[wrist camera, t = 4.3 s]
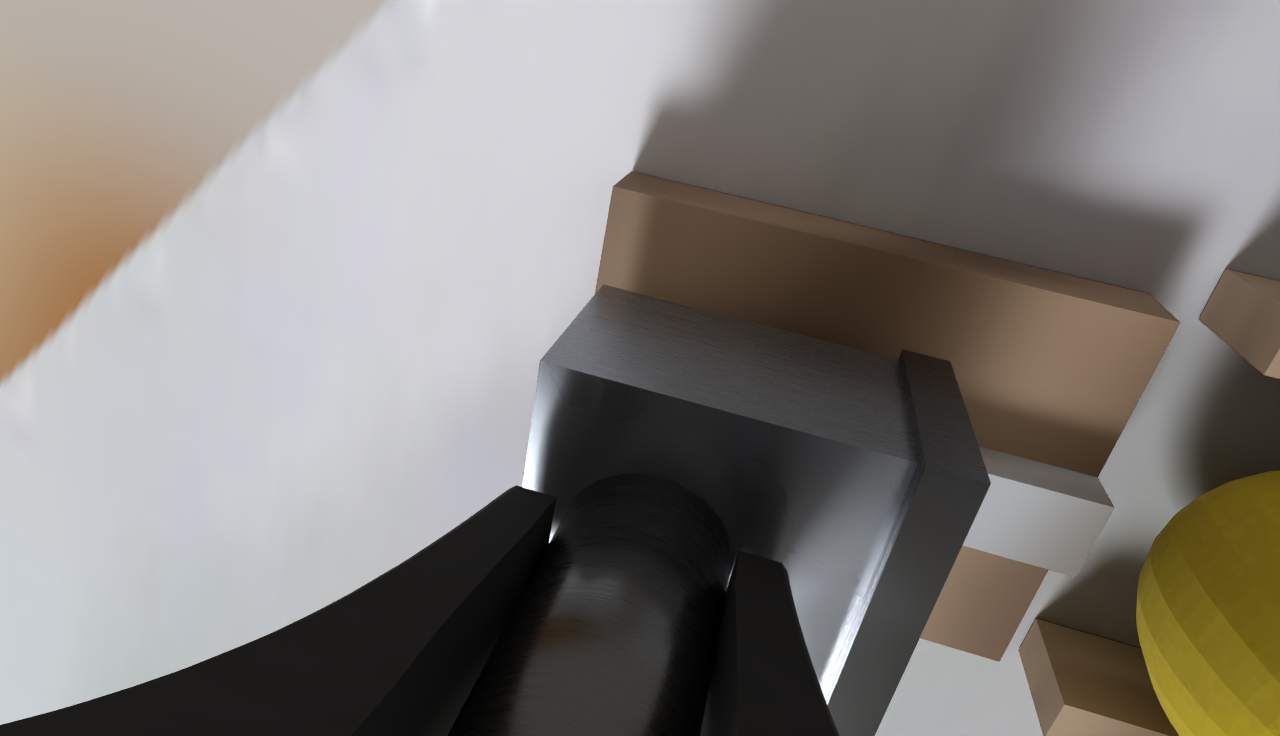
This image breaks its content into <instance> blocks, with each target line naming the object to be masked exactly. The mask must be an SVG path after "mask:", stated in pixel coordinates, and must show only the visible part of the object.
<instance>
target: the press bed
mask: <svg viewBox="0 0 1280 736" xmlns="http://www.w3.org/2000/svg"><path fill="white" fill-rule="evenodd" d="M603 284H604V285H608V286H612V287H616V288H620V289H624V290H627V291H631V292H635V293H639V294H643V295H647V296H651V297H655V298H659V299H663V300H667V301H671V302H674V303H678V304H682V305H686V306H690V307H694V308H698V309H702V310H706V311H710V312H714V313H718V314H721V315H725V316H729V317H733V318H737V319H741V320H745V321H749V322H753V323H757V324H761V325H765V326H769V327H772V328H776V329H780V330H784V331H788V332H792V333H796V334H800V335H804V336H808V337H812V338H816V339H819V340H823V341H827V342H831V343H835V344H839V345H843V346H847V347H851V348H855V349H859V350H863V351H866V352H870V353H874V354H878V355H882V356H886V357H890V358H894V359H899V357H900V354H901V351H902V349H904V350H908V351H912V352H916V353H920V354H924V355H928V356H932V357H936V358H939V359H943V360H947V361H950V362H951V365H952V368H953V371H954V374H955V377H956V380H957V383H958V386H959V389H960V392H961V395H962V398H963V401H964V404H965V407H966V410H967V413H968V416H969V419H970V422H971V425H972V428H973V431H974V434H975V437H976V440H977V443H978V446H979V449H980V452H981V455H982V458H983V461H984V464H985V467H986V470H987V473H988V476H989V479H990V482H991V485H990V487H989V489H988V491H987V493H986V496H985V498H984V500H983V502H982V504H981V506H980V509H979V511H978V513H977V515H976V517H975V519H974V522H973V524H972V526H971V528H970V530H969V532H968V535H967V537H966V539H965V541H964V543H963V545H962V547H961V550H960V552H959V554H958V556H957V558H956V560H955V563H954V565H953V567H952V569H951V571H950V573H949V576H948V578H947V580H946V582H945V584H944V586H943V589H942V591H941V593H940V595H939V597H938V599H937V602H936V604H935V606H934V608H933V610H932V612H931V615H930V617H929V619H928V621H927V623H926V625H925V627H924V630H923V632H922V634H921V636H920V638H921V639H925V640H928V641H932V642H935V643H938V644H942V645H945V646H948V647H952V648H955V649H959V650H962V651H965V652H969V653H972V654H976V655H979V656H982V657H986V658H989V659H993V660H996V661H1000V660H1001V658H1002V656H1003V654H1004V652H1005V650H1006V648H1007V646H1008V645H1009V643H1010V641H1011V639H1012V637H1013V635H1014V633H1015V631H1016V630H1017V628H1018V626H1019V624H1020V622H1021V620H1022V618H1023V616H1024V615H1025V613H1026V611H1027V609H1028V607H1029V605H1030V603H1031V601H1032V600H1033V598H1034V596H1035V594H1036V592H1037V590H1038V588H1039V587H1040V585H1041V583H1042V581H1043V579H1044V577H1045V575H1046V573H1047V572H1048V570H1052V571H1055V572H1059V573H1063V574H1066V575H1070V576H1073V577H1076V576H1077V574H1078V572H1079V571H1080V569H1081V567H1082V565H1083V563H1084V562H1085V560H1086V558H1087V556H1088V555H1089V553H1090V551H1091V549H1092V547H1093V546H1094V544H1095V542H1096V540H1097V538H1098V537H1099V535H1100V533H1101V531H1102V529H1103V528H1104V526H1105V524H1106V522H1107V520H1108V519H1109V517H1110V515H1111V513H1112V511H1113V510H1114V506H1113V504H1112V502H1111V500H1110V499H1109V497H1108V495H1107V493H1106V492H1105V490H1104V488H1103V486H1102V484H1101V483H1100V481H1099V479H1098V476H1099V474H1100V472H1101V470H1102V468H1103V467H1104V465H1105V463H1106V461H1107V459H1108V457H1109V455H1110V453H1111V452H1112V450H1113V448H1114V446H1115V444H1116V442H1117V440H1118V438H1119V437H1120V435H1121V433H1122V431H1123V429H1124V427H1125V425H1126V423H1127V422H1128V420H1129V418H1130V416H1131V414H1132V412H1133V410H1134V408H1135V407H1136V405H1137V403H1138V401H1139V399H1140V397H1141V395H1142V393H1143V392H1144V390H1145V388H1146V386H1147V384H1148V382H1149V380H1150V378H1151V377H1152V375H1153V373H1154V371H1155V369H1156V367H1157V365H1158V363H1159V362H1160V360H1161V358H1162V356H1163V354H1164V352H1165V350H1166V348H1167V347H1168V345H1169V343H1170V341H1171V339H1172V337H1173V335H1174V333H1175V332H1176V330H1177V328H1178V326H1179V324H1180V322H1179V321H1178V320H1177V319H1176V318H1175V317H1174V316H1173V315H1172V314H1171V313H1170V312H1168V311H1167V310H1166V309H1165V308H1164V307H1163V306H1162V305H1161V304H1160V303H1158V302H1157V301H1156V300H1155V299H1154V298H1153V297H1152V296H1151V295H1150V294H1148V293H1143V292H1139V291H1135V290H1131V289H1127V288H1122V287H1118V286H1114V285H1110V284H1105V283H1101V282H1097V281H1093V280H1088V279H1084V278H1080V277H1076V276H1072V275H1067V274H1063V273H1059V272H1055V271H1050V270H1046V269H1042V268H1038V267H1034V266H1029V265H1025V264H1021V263H1017V262H1012V261H1008V260H1004V259H1000V258H996V257H991V256H987V255H983V254H979V253H974V252H970V251H966V250H962V249H958V248H953V247H949V246H945V245H941V244H936V243H932V242H928V241H924V240H919V239H915V238H911V237H907V236H903V235H898V234H894V233H890V232H886V231H881V230H877V229H873V228H869V227H865V226H860V225H856V224H852V223H848V222H843V221H839V220H835V219H831V218H827V217H822V216H818V215H814V214H810V213H805V212H801V211H797V210H793V209H789V208H784V207H780V206H776V205H772V204H767V203H763V202H759V201H755V200H750V199H746V198H742V197H738V196H734V195H729V194H725V193H721V192H717V191H712V190H708V189H704V188H700V187H696V186H691V185H687V184H683V183H679V182H674V181H670V180H666V179H662V178H658V177H653V176H649V175H645V174H641V173H636V172H632V171H631V172H630V173H629V174H628V175H626V176H625V177H624V178H623V179H622V180H620V181H619V182H618V183H617V184H615V185H614V186H613V190H612V196H611V202H610V208H609V214H608V220H607V226H606V231H605V237H604V243H603V249H602V255H601V261H600V267H599V273H598V279H597V285H596V291H595V294H596V293H597V291H598V290H599V289H600V288H601V287H602V285H603Z"/></svg>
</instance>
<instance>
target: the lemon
mask: <svg viewBox="0 0 1280 736" xmlns="http://www.w3.org/2000/svg"><path fill="white" fill-rule="evenodd" d="M1136 622H1137V631H1138V636H1139V641H1140V645H1141V648H1142V652H1143V655H1144V659H1145V662H1146V666H1147V669H1148V672H1149V676H1150V679H1151V682H1152V685H1153V688H1154V690H1155V693H1156V695H1157V697H1158V700H1159V702H1160V704H1161V706H1162V708H1163V710H1164V712H1165V713H1166V715H1167V717H1168V719H1169V721H1170V722H1171V724H1172V725H1173V727H1174V728H1175V730H1176V731H1177V733H1178V734H1179V736H1280V470H1278V471H1268V472H1264V473H1259V474H1256V475H1252V476H1248V477H1244V478H1240V479H1237V480H1233V481H1229V482H1227V483H1225V484H1223V485H1221V486H1219V487H1217V488H1215V489H1212V490H1210V491H1208V492H1206V493H1204V494H1202V495H1200V496H1199V497H1198V498H1196V499H1195V500H1194V501H1192V502H1191V503H1190V504H1188V505H1187V506H1186V507H1184V508H1183V509H1182V510H1180V511H1179V512H1178V513H1177V514H1176V515H1174V516H1173V518H1172V519H1171V520H1170V521H1169V522H1168V524H1167V525H1166V526H1165V527H1164V529H1163V530H1162V531H1161V532H1160V533H1159V535H1158V536H1157V537H1156V538H1155V540H1154V542H1153V544H1152V546H1151V549H1150V551H1149V553H1148V556H1147V558H1146V560H1145V562H1144V565H1143V567H1142V569H1141V572H1140V575H1139V582H1138V592H1137V606H1136Z"/></svg>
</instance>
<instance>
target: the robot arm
mask: <svg viewBox="0 0 1280 736" xmlns="http://www.w3.org/2000/svg"><path fill="white" fill-rule="evenodd" d="M556 498H557V497H554V496H551V495H547V494H544V493H540V492H537V491H533V490H530V489H526V488H523V487H520V486H514V487H512V488H510V489H509V490H507V491H506V492H504V493H503V494H501V495H500V496H499V497H497V498H496V499H495V500H493V501H492V502H491V503H489V504H488V505H487V506H485V507H484V508H482V509H481V510H480V511H478V512H477V513H476V514H474V515H473V516H471V517H470V518H469V519H467V520H466V521H464V522H463V523H461V524H460V525H459V526H457V527H456V528H454V529H453V530H451V531H450V532H449V533H447V534H446V535H444V536H443V537H441V538H440V539H438V540H436V541H435V542H433V543H432V544H430V545H429V546H427V547H426V548H424V549H423V550H421V551H420V552H418V553H417V554H415V555H414V556H412V557H411V558H409V559H408V560H406V561H404V562H403V563H401V564H400V565H398V566H396V567H395V568H393V569H391V570H389V571H388V572H386V573H384V574H383V575H381V576H379V577H378V578H376V579H374V580H372V581H371V582H369V583H367V584H366V585H364V586H362V587H360V588H359V589H357V590H355V591H354V592H352V593H350V594H348V595H347V596H345V597H343V598H341V599H339V600H337V601H335V602H333V603H332V604H330V605H328V606H326V607H324V608H322V609H320V610H318V611H316V612H314V613H312V614H310V615H308V616H306V617H304V618H302V619H300V620H298V621H296V622H294V623H292V624H290V625H288V626H286V627H284V628H281V629H279V630H277V631H275V632H273V633H271V634H268V635H266V636H264V637H261V638H259V639H257V640H254V641H252V642H250V643H247V644H245V645H242V646H240V647H238V648H235V649H233V650H230V651H228V652H225V653H223V654H220V655H218V656H215V657H213V658H210V659H208V660H205V661H203V662H200V663H198V664H195V665H193V666H190V667H188V668H185V669H182V670H180V671H177V672H174V673H171V674H168V675H166V676H163V677H160V678H157V679H154V680H151V681H148V682H145V683H142V684H140V685H137V686H134V687H131V688H127V689H124V690H121V691H118V692H115V693H112V694H109V695H105V696H102V697H99V698H96V699H93V700H90V701H86V702H83V703H80V704H76V705H73V706H70V707H66V708H63V709H59V710H56V711H52V712H49V713H45V714H41V715H37V716H33V717H30V718H26V719H22V720H18V721H14V722H10V723H7V724H3V725H0V736H447V735H448V733H449V732H450V730H451V728H452V726H453V724H454V722H455V720H456V718H457V716H458V715H459V713H460V711H461V709H462V707H463V705H464V703H465V701H466V699H467V698H468V696H469V694H470V692H471V690H472V688H473V686H474V684H475V682H476V681H477V679H478V677H479V675H480V673H481V671H482V669H483V667H484V665H485V664H486V662H487V660H488V658H489V656H490V654H491V652H492V650H493V648H494V647H495V645H496V643H497V641H498V639H499V637H500V635H501V633H502V631H503V630H504V628H505V626H506V624H507V622H508V620H509V618H510V616H511V614H512V613H513V611H514V609H515V607H516V605H517V603H518V601H519V599H520V597H521V596H522V594H523V592H524V590H525V588H526V586H527V584H528V582H529V580H530V579H531V577H532V575H533V573H534V571H535V569H536V567H537V565H538V563H539V562H540V560H541V558H542V556H543V554H544V552H545V550H546V548H547V546H548V545H549V540H550V534H551V528H552V522H553V516H554V510H555V504H556ZM700 736H840V735H839V733H838V730H837V728H836V726H835V723H834V721H833V718H832V716H831V713H830V711H829V708H828V705H827V703H826V700H825V698H824V695H823V692H822V689H821V686H820V684H819V681H818V678H817V675H816V672H815V670H814V667H813V664H812V661H811V658H810V655H809V652H808V649H807V646H806V643H805V640H804V636H803V633H802V629H801V626H800V623H799V619H798V616H797V612H796V608H795V604H794V600H793V596H792V592H791V587H790V582H789V577H788V572H787V570H786V568H785V567H784V565H783V563H781V562H778V561H774V560H771V559H767V558H764V557H760V556H757V555H753V554H750V553H747V552H743V551H740V550H739V551H738V554H737V557H736V560H735V564H734V567H733V570H732V574H731V577H730V580H729V583H728V587H727V590H726V594H725V599H724V605H723V610H722V615H721V621H720V626H719V632H718V637H717V643H716V649H715V657H714V663H713V669H712V674H711V680H710V685H709V691H708V696H707V702H706V707H705V713H704V718H703V724H702V729H701V735H700Z"/></svg>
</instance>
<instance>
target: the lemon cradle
mask: <svg viewBox="0 0 1280 736" xmlns="http://www.w3.org/2000/svg"><path fill="white" fill-rule="evenodd" d="M1199 320H1200V321H1201V322H1202V323H1203V324H1204V325H1206V326H1207V327H1208V328H1209V329H1210V330H1211V331H1213V332H1214V333H1215V334H1216V335H1217V336H1218V337H1220V338H1221V339H1222V340H1223V341H1224V342H1226V343H1227V344H1228V345H1229V346H1230V347H1231V348H1233V349H1234V350H1235V351H1236V352H1237V353H1238V354H1240V355H1241V356H1242V357H1243V358H1244V359H1245V360H1247V361H1248V362H1249V363H1250V364H1251V365H1253V366H1254V367H1255V368H1256V369H1257V370H1258V371H1260V372H1261V373H1262V374H1263V375H1266V376H1270V377H1274V378H1278V379H1280V281H1276V280H1271V279H1267V278H1263V277H1258V276H1254V275H1250V274H1245V273H1241V272H1237V271H1232V270H1228V269H1226V270H1225V272H1224V273H1223V275H1222V277H1221V279H1220V281H1219V283H1218V284H1217V286H1216V288H1215V290H1214V292H1213V294H1212V295H1211V297H1210V299H1209V301H1208V303H1207V305H1206V306H1205V308H1204V310H1203V312H1202V314H1201V316H1200V317H1199ZM1019 653H1020V657H1021V660H1022V663H1023V667H1024V670H1025V674H1026V677H1027V681H1028V684H1029V688H1030V691H1031V695H1032V698H1033V701H1034V705H1035V708H1036V712H1037V715H1038V719H1039V722H1040V726H1041V729H1042V733H1043V736H1179V734H1178V733H1177V731H1176V730H1175V728H1174V727H1173V725H1172V724H1171V722H1170V721H1169V719H1168V717H1167V715H1166V713H1165V712H1164V710H1163V708H1162V706H1161V704H1160V702H1159V700H1158V697H1157V695H1156V693H1155V690H1154V688H1153V685H1152V682H1151V679H1150V676H1149V672H1148V669H1147V666H1146V662H1145V659H1144V655H1143V652H1142V649H1140V648H1137V647H1133V646H1130V645H1126V644H1123V643H1120V642H1116V641H1113V640H1109V639H1106V638H1102V637H1099V636H1095V635H1092V634H1088V633H1085V632H1081V631H1078V630H1074V629H1071V628H1067V627H1064V626H1060V625H1057V624H1053V623H1050V622H1047V621H1043V620H1040V619H1035V621H1034V623H1033V625H1032V627H1031V628H1030V630H1029V632H1028V634H1027V636H1026V638H1025V639H1024V641H1023V643H1022V645H1021V647H1020V649H1019Z"/></svg>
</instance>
